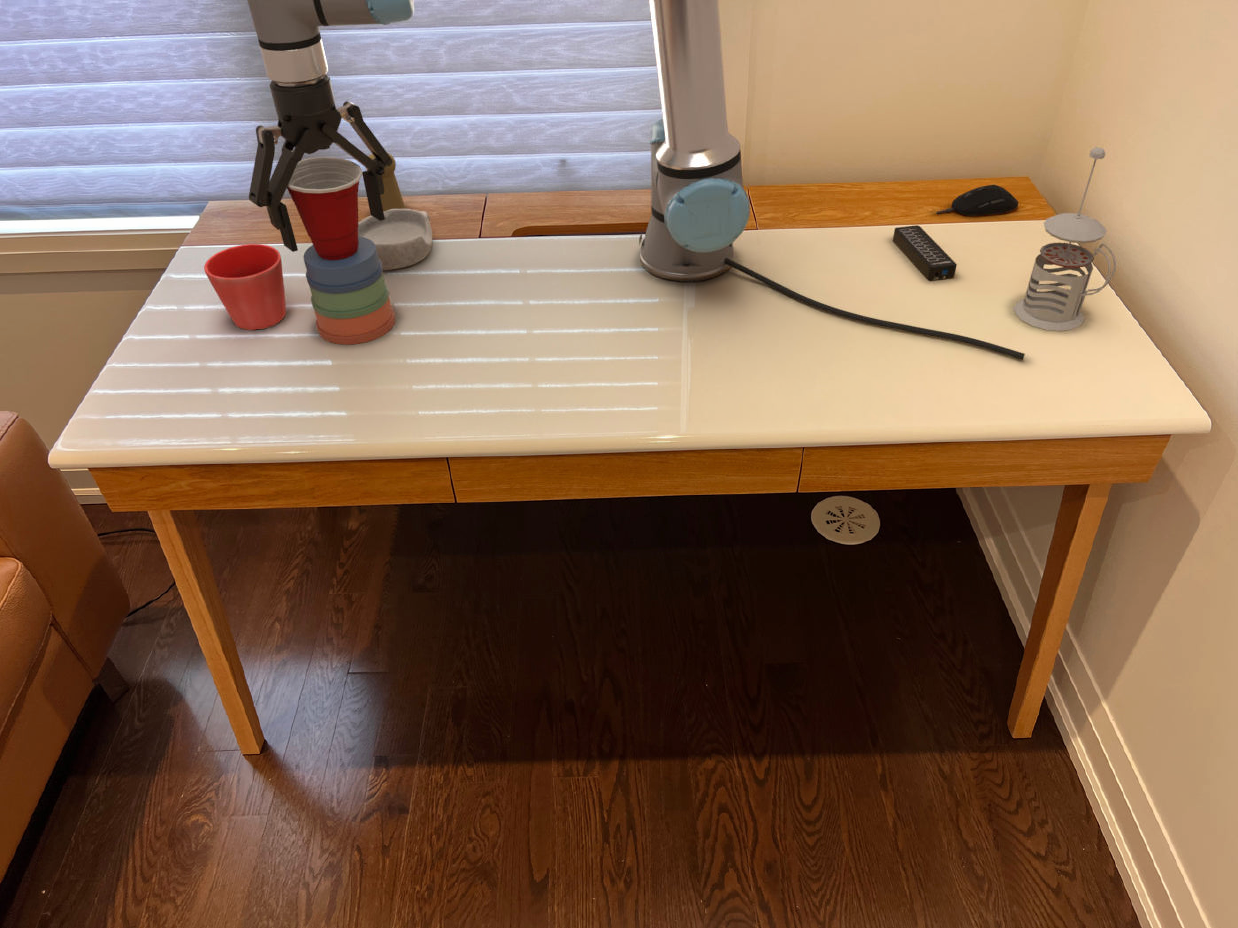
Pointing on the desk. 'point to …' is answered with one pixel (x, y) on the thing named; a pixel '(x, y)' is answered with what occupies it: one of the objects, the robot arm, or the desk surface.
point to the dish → (399, 236)
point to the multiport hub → (924, 253)
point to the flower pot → (249, 284)
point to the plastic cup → (328, 204)
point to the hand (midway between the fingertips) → (335, 232)
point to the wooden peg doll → (390, 188)
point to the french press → (1064, 304)
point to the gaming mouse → (983, 201)
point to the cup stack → (349, 295)
